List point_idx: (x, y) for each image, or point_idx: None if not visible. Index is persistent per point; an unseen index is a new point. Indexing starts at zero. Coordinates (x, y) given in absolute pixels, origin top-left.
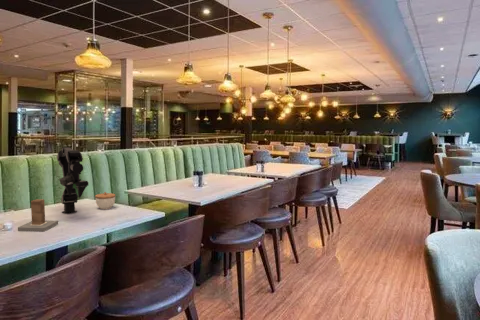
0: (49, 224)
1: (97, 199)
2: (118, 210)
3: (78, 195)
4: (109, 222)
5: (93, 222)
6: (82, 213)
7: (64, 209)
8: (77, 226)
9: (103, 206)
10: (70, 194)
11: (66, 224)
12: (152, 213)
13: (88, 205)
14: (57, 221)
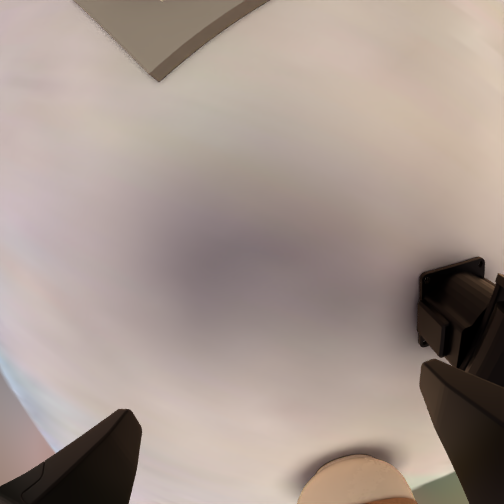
0: (100, 11)
1: (362, 496)
2: (244, 487)
3: (105, 428)
4: (29, 347)
5: (57, 294)
6: (350, 357)
7: (479, 277)
8: (31, 178)
9: (319, 476)
10: (428, 396)
11: (110, 130)
12: None
13: None
14: (143, 68)
